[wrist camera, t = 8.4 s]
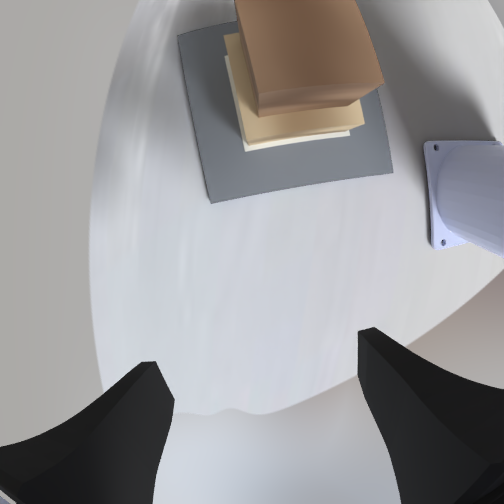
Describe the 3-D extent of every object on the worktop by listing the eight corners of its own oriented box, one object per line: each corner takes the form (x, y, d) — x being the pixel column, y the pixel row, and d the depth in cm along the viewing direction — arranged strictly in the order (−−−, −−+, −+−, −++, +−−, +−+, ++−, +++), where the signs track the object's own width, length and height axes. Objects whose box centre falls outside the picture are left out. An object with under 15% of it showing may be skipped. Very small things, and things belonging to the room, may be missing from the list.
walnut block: (325, 30, 11) (349, -13, 6) (347, 106, 12) (384, 82, 8) (240, 40, 11) (233, -6, 7) (258, 117, 12) (258, 93, 8)
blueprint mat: (349, 16, 13) (352, 12, 13) (390, 172, 17) (394, 173, 16) (179, 38, 14) (177, 35, 14) (212, 203, 18) (210, 204, 17)
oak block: (322, 46, 14) (336, 23, 10) (344, 131, 16) (365, 123, 12) (229, 58, 14) (223, 35, 11) (248, 145, 16) (246, 139, 13)
